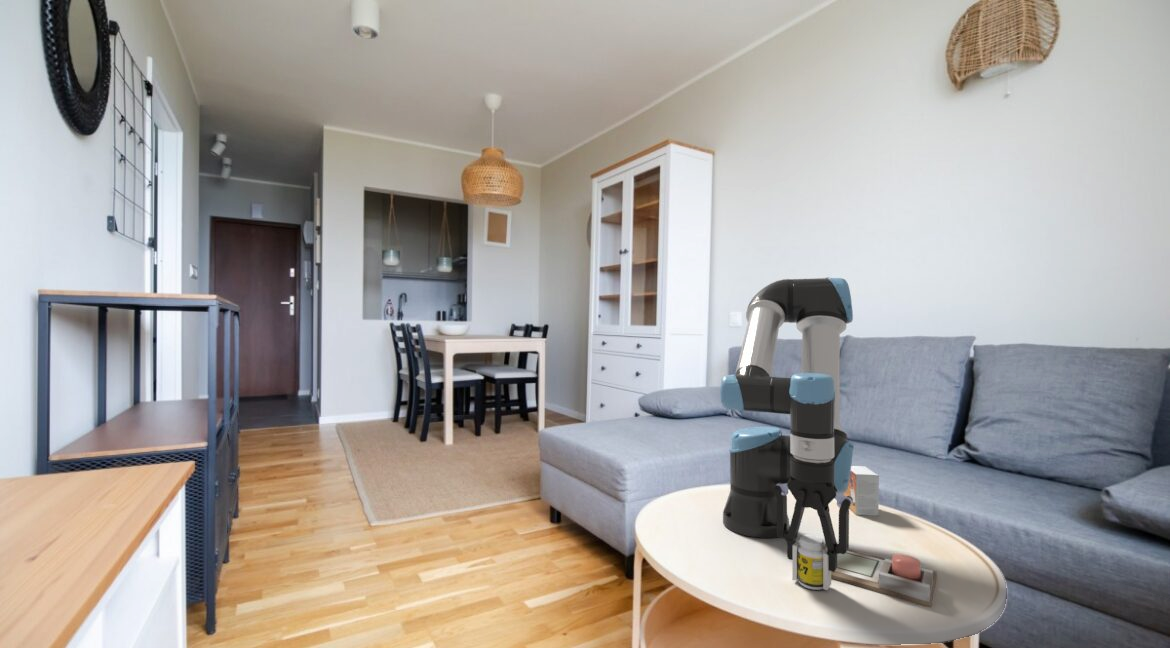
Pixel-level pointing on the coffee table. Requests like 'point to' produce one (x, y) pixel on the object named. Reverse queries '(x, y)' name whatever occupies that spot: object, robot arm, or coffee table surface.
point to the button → (906, 567)
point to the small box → (863, 491)
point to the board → (883, 577)
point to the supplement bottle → (810, 562)
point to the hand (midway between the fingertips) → (811, 581)
